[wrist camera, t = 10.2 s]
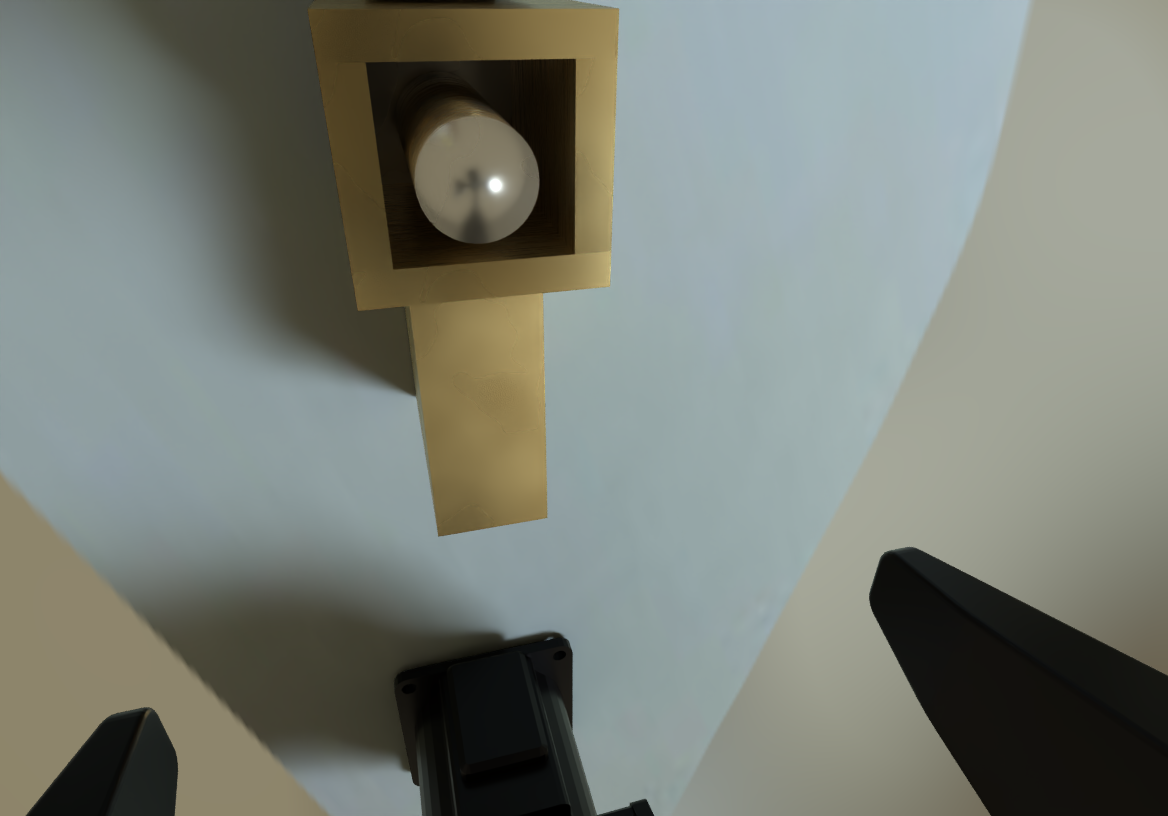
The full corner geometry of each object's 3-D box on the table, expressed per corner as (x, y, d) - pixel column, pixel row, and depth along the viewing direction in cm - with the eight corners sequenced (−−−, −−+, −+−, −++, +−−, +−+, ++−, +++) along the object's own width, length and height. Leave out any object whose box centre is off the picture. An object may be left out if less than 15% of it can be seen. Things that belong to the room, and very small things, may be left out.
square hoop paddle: (527, 383, 21) (601, 557, 15) (387, 401, 20) (405, 593, 14) (513, -11, 16) (618, 8, 10) (323, -11, 15) (307, 9, 9)
